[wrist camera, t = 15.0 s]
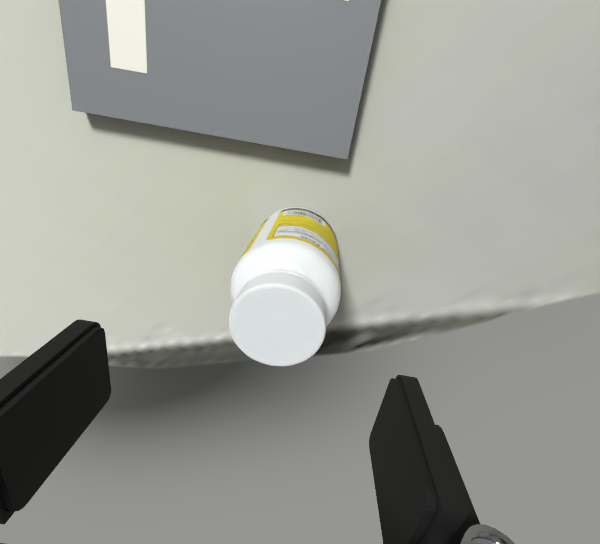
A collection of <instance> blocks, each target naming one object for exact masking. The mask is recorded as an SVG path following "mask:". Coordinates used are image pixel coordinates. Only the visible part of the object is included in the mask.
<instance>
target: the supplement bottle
mask: <svg viewBox="0 0 600 544" xmlns="http://www.w3.org/2000/svg"><path fill="white" fill-rule="evenodd" d="M340 297H341V282H340V269H339V257H338V246H337V240H336V236H335V233H334V231H333V229H332V227H331V226H330V224H329V223H328V221H327V220H326V219H325V218H324V217H322V216H321V215H320V214H318V213H317V212H315V211H313V210H310V209H307V208H302V207H290V208H285V209H282V210H279V211H277V212H275V213H274V214H272V215H271V216H270V217H269V218H268V219H267V220H266V221H265V222H264V223H263V224H262V226H261V227H260V229H259V230H258V232H257V233H256V235H255V237H254V238H253V240H252V241H251V243H250V244H249V246H248V248H247V249H246V251H245V252H244V254H243V255H242V257H241V258H240V260H239V262H238V263H237V265H236V268H235V270H234V272H233V275H232V279H231V298H232V302H233V306H232V308H231V311H230V315H229V329H230V332H231V335H232V338H233V340H234V342H235V343H236V344H237V346H238V347H239V348H240V349H241V350H242V351H243V352H244V353H245V354H246V355H248V356H249V357H251V358H252V359H254V360H256V361H258V362H261V363H264V364H267V365H272V366H290V365H295V364H298V363H301V362H303V361H305V360H306V359H308V358H310V357H311V356H313V355H314V354H315V353H316V352H317V351H318V349H319V348H320V346H321V345H322V343H323V340H324V337H325V333H326V326H327V325H328V324H329V323H330V322H331V321H332V319H333V318H334V316H335V314H336V312H337V310H338V307H339V303H340Z"/></svg>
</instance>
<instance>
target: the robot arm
mask: <svg viewBox="0 0 600 544" xmlns="http://www.w3.org/2000/svg"><path fill="white" fill-rule="evenodd" d="M110 394H111V385H110V376H109V366H108V357H107V348H106V338H105V331H104V329H103V328H101V327H100V324H99V323H97V322H91V321H85V320H76V321H75V322H73V323H72V324H71V325H69V326H68V327H67V328H66V329H64V330H63V331H62V332H60V333H59V334H58V335H57V336H55V337H54V338H53V339H51V340H50V341H49V342H48V343H46V344H45V345H44V346H42V347H41V348H40V349H39V350H37V351H36V352H35V353H33V354H32V355H31V356H30V357H28V358H27V359H26V360H24V361H23V362H22V363H21V364H19V365H18V366H17V367H15V368H14V369H13V370H12V371H10V372H9V373H8V374H6V375H5V376H4V377H3V378H1V379H0V524H5V523H6V522H7V521H8V519H9V518H10V517H11V516H12V514H13V513H14V512H15V511H19V510H21V509H22V508H23V507H24V506H25V505H26V504H27V503H28V502H29V500H30V499H31V498H32V496H33V495H34V494H35V493H36V492H37V490H38V489H39V488H40V486H41V485H42V484H43V483H44V481H45V480H46V479H47V478H48V476H49V475H50V474H51V472H52V471H53V470H54V469H55V467H56V466H57V465H58V464H59V462H60V461H61V460H62V458H63V457H64V456H65V455H66V453H67V452H68V451H69V450H70V448H71V447H72V446H73V445H74V443H75V442H76V441H77V439H78V438H79V437H80V436H81V434H82V433H83V432H84V430H85V429H86V428H87V427H88V425H89V424H90V423H91V422H92V420H93V419H94V418H95V417H96V415H97V414H98V413H99V412H100V410H101V409H102V408H103V407H104V405H105V404H106V403H107V401H108V399H109V397H110ZM369 447H370V454H371V461H372V468H373V475H374V482H375V489H376V496H377V503H378V510H379V516H380V523H381V530H382V537H383V544H514V543H513V542H512V541H511V540H510V539H509V538H508V537H507V536H506V535H504V534H503V533H501V532H500V531H498V530H497V529H495V528H492V527H490V526H487V525H481V524H480V523H479V520H478V517H477V515H476V513H475V510H474V507H473V505H472V503H471V500H470V497H469V495H468V492H467V490H466V487H465V485H464V482H463V480H462V477H461V475H460V472H459V470H458V467H457V465H456V462H455V460H454V457H453V455H452V452H451V449H450V447H449V444H448V442H447V440H446V437H445V434H444V432H443V430H442V428H441V427H439V425H435V424H434V421H433V418H432V416H431V413H430V410H429V408H428V405H427V403H426V400H425V397H424V395H423V392H422V389H421V387H420V384H419V381H418V379H417V378H415V377H409V376H403V375H398V376H397V377H396V379H393V378H392V379H391V380H390V382H389V385H388V387H387V390H386V393H385V396H384V399H383V401H382V404H381V407H380V409H379V412H378V415H377V418H376V421H375V423H374V426H373V429H372V432H371V434H370V439H369ZM0 544H4V543H0Z"/></svg>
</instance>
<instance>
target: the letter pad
mask: <svg viewBox="0 0 600 544" xmlns="http://www.w3.org/2000/svg"><path fill="white" fill-rule="evenodd" d="M380 4H381V0H59V7H60V15H61V23H62V31H63V39H64V46H65V54H66V62H67V70H68V78H69V86H70V94H71V102H72V110H74V111H79V112H85V113H91V114H96V115H102V116H107V117H113V118H118V119H124V120H130V121H135V122H141V123H146V124H152V125H158V126H163V127H169V128H174V129H180V130H185V131H191V132H197V133H202V134H208V135H213V136H219V137H224V138H230V139H236V140H241V141H247V142H252V143H258V144H263V145H269V146H275V147H280V148H286V149H291V150H297V151H302V152H308V153H314V154H319V155H325V156H330V157H336V158H342V159H348V154H349V150H350V145H351V140H352V135H353V131H354V126H355V121H356V117H357V112H358V107H359V103H360V98H361V93H362V88H363V84H364V79H365V74H366V70H367V65H368V60H369V55H370V51H371V46H372V41H373V37H374V32H375V27H376V23H377V18H378V13H379V8H380Z"/></svg>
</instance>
